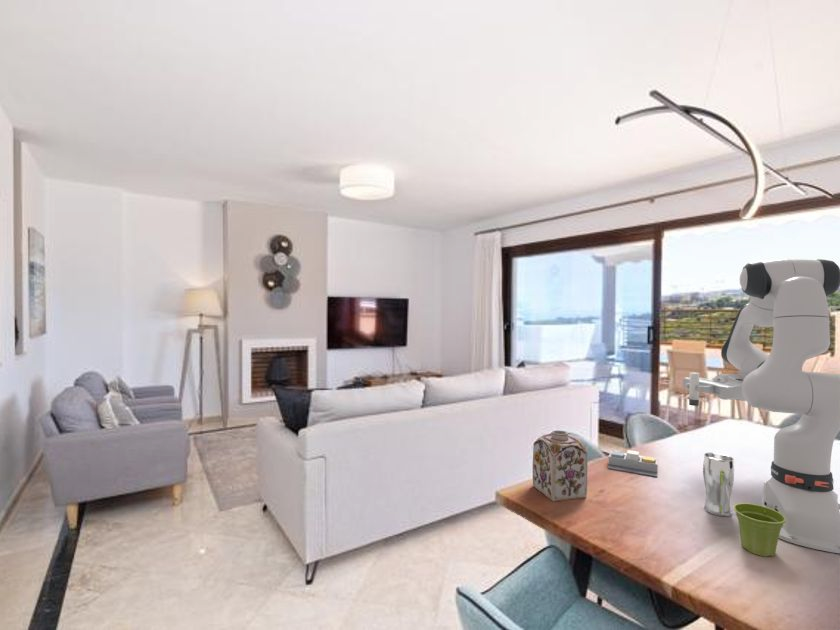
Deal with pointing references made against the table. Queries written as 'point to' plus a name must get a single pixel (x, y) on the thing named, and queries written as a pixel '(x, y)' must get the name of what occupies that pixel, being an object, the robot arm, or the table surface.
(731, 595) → the table surface
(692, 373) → the white rounded cylinder
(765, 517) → the plant pot
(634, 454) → the key white
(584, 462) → the decorative jar
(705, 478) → the beer glass
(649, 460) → the key amber
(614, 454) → the key slate
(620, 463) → the keypad
